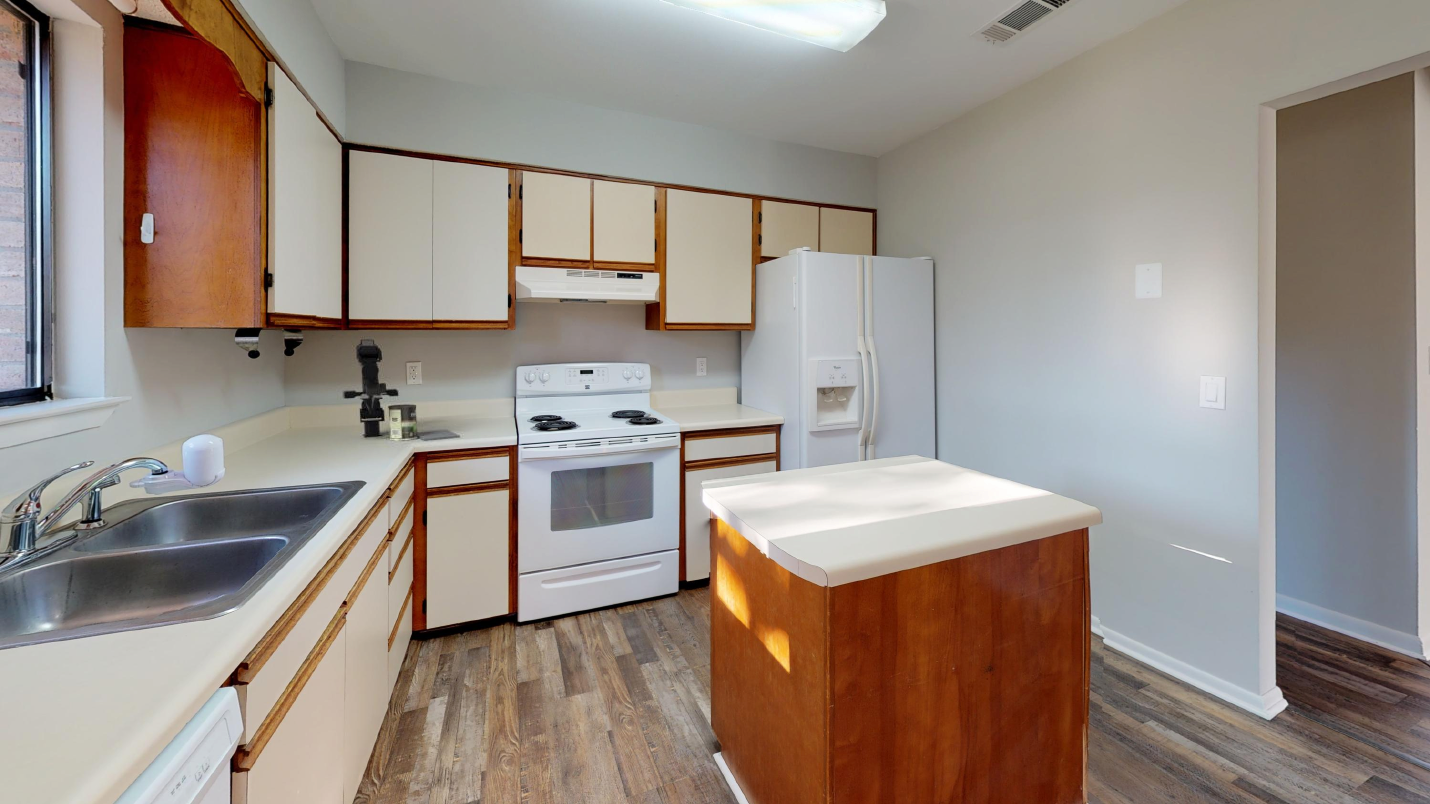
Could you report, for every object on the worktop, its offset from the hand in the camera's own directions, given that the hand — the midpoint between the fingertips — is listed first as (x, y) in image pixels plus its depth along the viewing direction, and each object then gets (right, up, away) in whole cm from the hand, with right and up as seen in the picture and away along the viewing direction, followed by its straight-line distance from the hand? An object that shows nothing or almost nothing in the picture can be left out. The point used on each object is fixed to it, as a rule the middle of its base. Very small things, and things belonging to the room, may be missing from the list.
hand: (372, 414), depth 227 cm
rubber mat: (+18, -10, +16) cm, 26 cm away
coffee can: (+8, -11, +8) cm, 16 cm away
